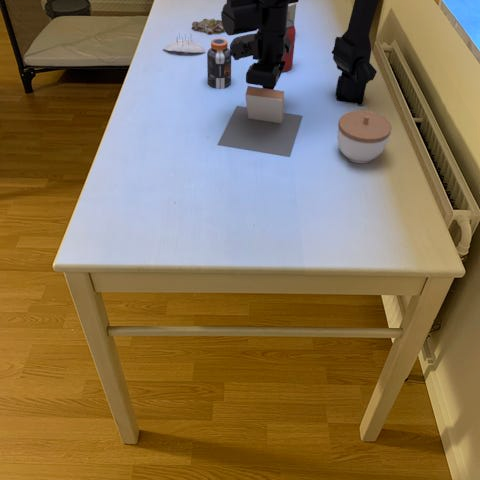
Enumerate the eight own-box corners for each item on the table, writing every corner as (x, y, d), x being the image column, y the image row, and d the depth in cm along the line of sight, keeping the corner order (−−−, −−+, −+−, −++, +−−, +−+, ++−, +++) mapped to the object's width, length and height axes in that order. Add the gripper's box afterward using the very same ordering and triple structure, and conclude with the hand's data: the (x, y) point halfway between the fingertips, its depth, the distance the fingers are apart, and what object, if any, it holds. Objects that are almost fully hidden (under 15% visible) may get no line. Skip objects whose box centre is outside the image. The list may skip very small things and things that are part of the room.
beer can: (292, 62, 140) (296, 18, 131) (291, 73, 135) (296, 28, 127) (268, 60, 140) (271, 16, 132) (266, 72, 135) (269, 26, 127)
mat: (302, 117, 120) (302, 115, 119) (289, 158, 108) (290, 156, 108) (236, 107, 122) (236, 105, 122) (217, 146, 111) (217, 144, 110)
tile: (284, 114, 118) (284, 91, 109) (282, 123, 117) (281, 100, 108) (250, 109, 119) (247, 85, 110) (248, 118, 118) (245, 95, 110)
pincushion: (161, 55, 142) (159, 35, 138) (165, 46, 146) (163, 26, 142) (203, 58, 141) (203, 38, 137) (206, 48, 145) (206, 28, 141)
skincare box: (270, 36, 151) (273, 1, 144) (281, 32, 154) (283, -3, 146) (283, 42, 149) (286, 6, 142) (293, 38, 151) (297, 2, 144)
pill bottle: (228, 91, 128) (228, 47, 120) (205, 89, 128) (203, 45, 120) (233, 80, 132) (233, 37, 124) (210, 78, 132) (210, 34, 124)
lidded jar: (343, 172, 105) (351, 133, 99) (326, 143, 113) (333, 105, 106) (391, 167, 107) (402, 128, 100) (372, 138, 114) (381, 101, 108)
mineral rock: (228, 17, 156) (226, 19, 149) (228, 32, 158) (226, 35, 151) (193, 16, 156) (189, 19, 149) (193, 32, 158) (190, 35, 151)
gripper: (245, 5, 111) (242, 72, 122) (221, 39, 98) (221, 111, 109) (295, 11, 109) (288, 79, 120) (278, 47, 96) (272, 119, 107)
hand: (267, 96), depth 114 cm, fingers closed
